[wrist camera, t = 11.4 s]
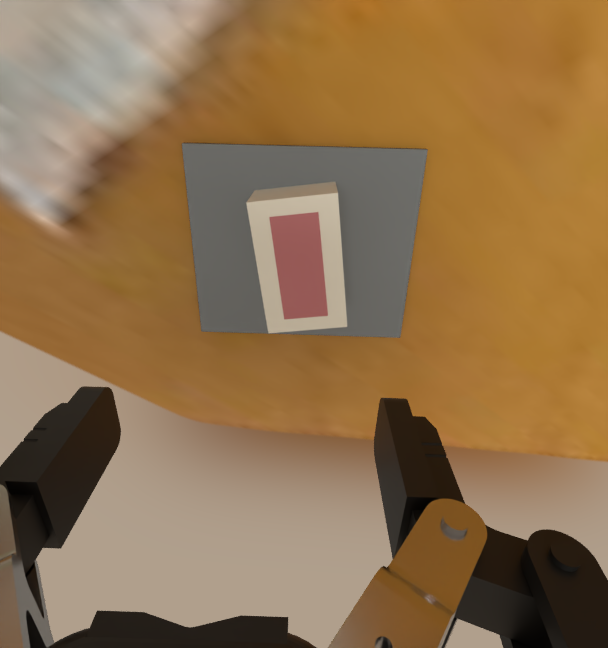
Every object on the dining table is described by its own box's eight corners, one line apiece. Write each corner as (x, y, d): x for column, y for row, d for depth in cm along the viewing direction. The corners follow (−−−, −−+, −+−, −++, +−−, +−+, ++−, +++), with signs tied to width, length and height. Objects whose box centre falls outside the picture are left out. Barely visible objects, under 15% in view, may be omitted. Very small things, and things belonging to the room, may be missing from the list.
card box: (254, 190, 29) (246, 202, 25) (335, 181, 28) (337, 192, 25) (273, 308, 33) (268, 333, 29) (344, 302, 33) (347, 327, 29)
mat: (203, 328, 35) (201, 331, 34) (183, 142, 28) (182, 143, 28) (398, 334, 34) (400, 337, 34) (425, 148, 28) (427, 149, 27)
